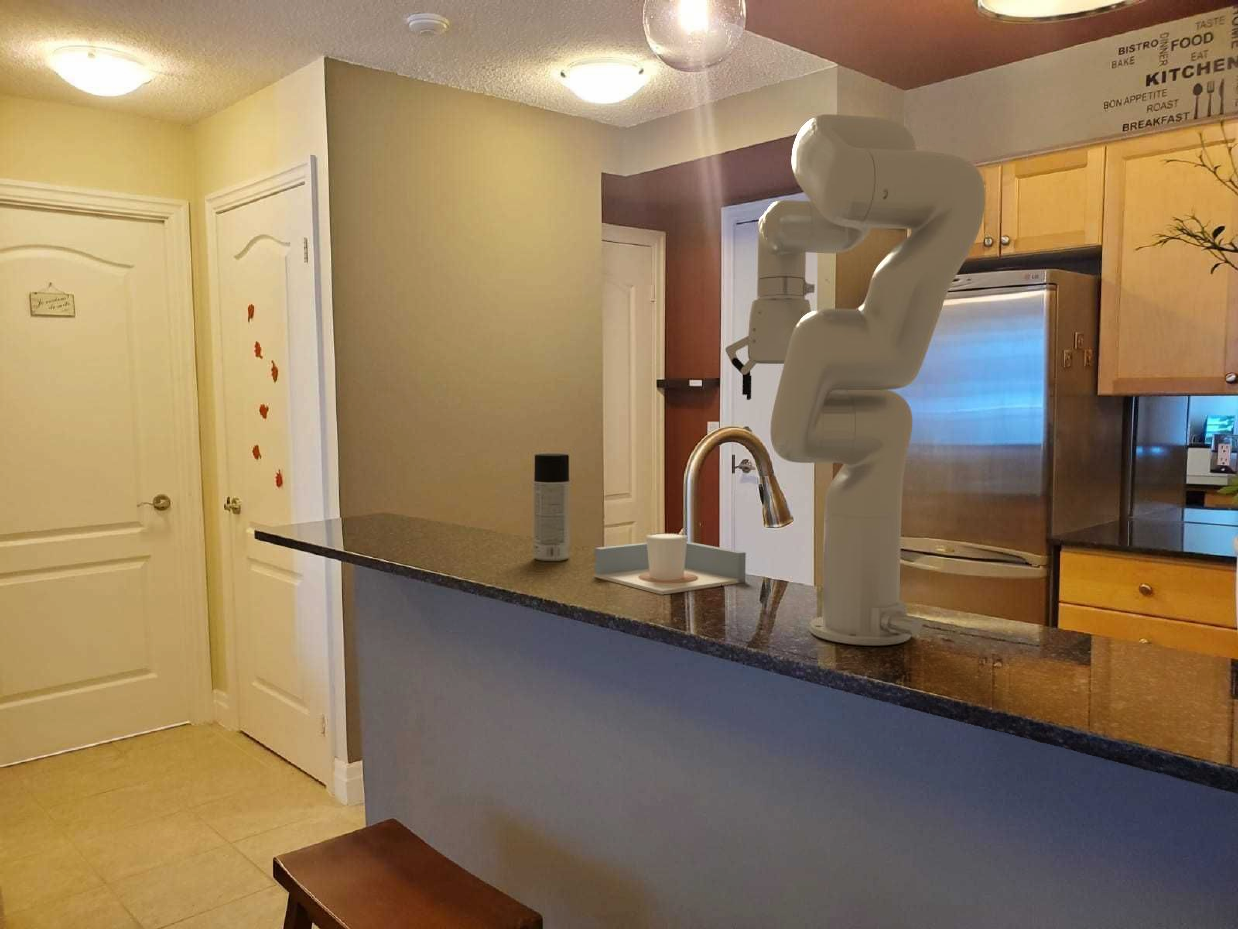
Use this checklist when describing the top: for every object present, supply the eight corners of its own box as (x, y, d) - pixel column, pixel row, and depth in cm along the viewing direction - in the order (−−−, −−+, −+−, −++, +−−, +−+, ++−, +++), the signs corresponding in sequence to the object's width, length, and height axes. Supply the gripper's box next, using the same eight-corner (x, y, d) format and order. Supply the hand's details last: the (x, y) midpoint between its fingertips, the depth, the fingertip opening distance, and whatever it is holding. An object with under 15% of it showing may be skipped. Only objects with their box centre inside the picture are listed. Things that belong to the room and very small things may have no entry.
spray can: (576, 558, 176) (576, 454, 175) (555, 563, 170) (555, 455, 169) (548, 555, 179) (548, 453, 178) (526, 559, 174) (526, 454, 172)
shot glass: (667, 571, 158) (668, 531, 157) (695, 577, 152) (696, 535, 152) (637, 576, 153) (637, 534, 153) (665, 582, 148) (665, 539, 148)
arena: (745, 582, 153) (745, 552, 152) (661, 594, 142) (661, 562, 142) (675, 566, 167) (675, 539, 167) (594, 577, 156) (594, 548, 156)
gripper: (834, 294, 148) (832, 400, 149) (726, 295, 150) (725, 399, 152) (838, 288, 141) (836, 400, 142) (725, 289, 143) (724, 399, 144)
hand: (779, 399), depth 147 cm, fingers open, 9 cm apart
